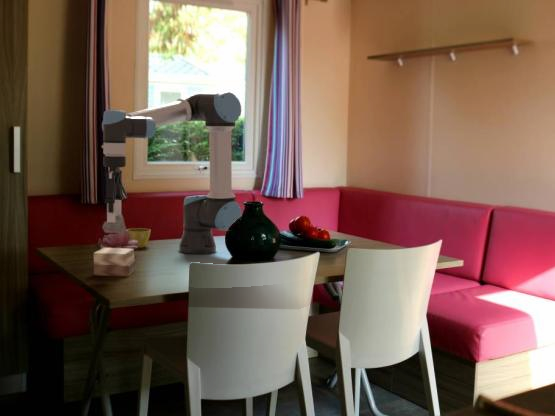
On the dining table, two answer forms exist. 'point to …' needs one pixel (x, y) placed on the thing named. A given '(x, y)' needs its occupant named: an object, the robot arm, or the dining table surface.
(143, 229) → the flower pot
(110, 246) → the flower
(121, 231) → the stone
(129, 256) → the tower top
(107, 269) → the tower base
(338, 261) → the dining table surface
